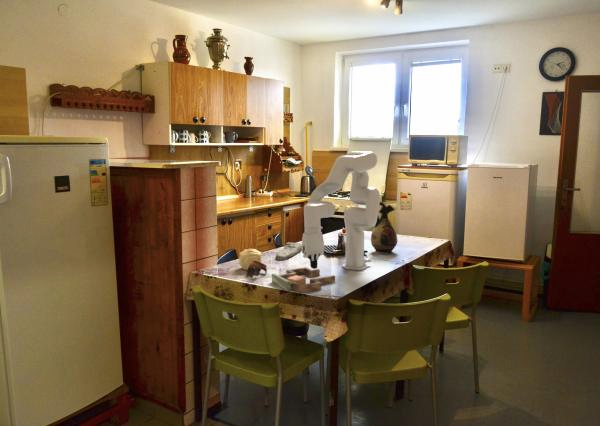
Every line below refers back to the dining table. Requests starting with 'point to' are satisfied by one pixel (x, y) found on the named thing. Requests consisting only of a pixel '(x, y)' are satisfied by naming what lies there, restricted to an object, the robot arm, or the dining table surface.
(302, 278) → the block
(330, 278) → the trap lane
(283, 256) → the elongated rock
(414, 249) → the dining table surface
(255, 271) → the brown animal figurine
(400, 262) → the dining table surface
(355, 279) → the dining table surface
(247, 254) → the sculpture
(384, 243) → the ceramic jug
